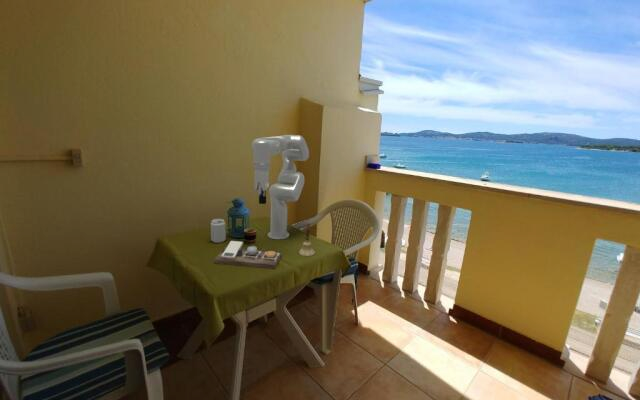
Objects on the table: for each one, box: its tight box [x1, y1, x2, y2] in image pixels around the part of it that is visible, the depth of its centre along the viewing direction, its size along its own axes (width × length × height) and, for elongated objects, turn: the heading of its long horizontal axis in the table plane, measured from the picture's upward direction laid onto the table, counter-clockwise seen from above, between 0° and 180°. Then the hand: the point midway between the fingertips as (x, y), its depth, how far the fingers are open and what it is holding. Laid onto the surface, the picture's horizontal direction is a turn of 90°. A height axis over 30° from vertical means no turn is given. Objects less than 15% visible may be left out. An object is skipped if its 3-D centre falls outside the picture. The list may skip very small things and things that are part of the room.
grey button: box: [246, 245, 258, 255], centre depth 124 cm, size 4×4×2 cm
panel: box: [213, 246, 282, 270], centre depth 124 cm, size 13×28×5 cm, turn 85°
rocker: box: [222, 240, 244, 259], centre depth 124 cm, size 11×6×1 cm, turn 175°
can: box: [210, 218, 227, 244], centre depth 143 cm, size 8×8×12 cm
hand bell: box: [298, 222, 316, 257], centre depth 134 cm, size 8×8×16 cm
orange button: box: [266, 250, 276, 258], centre depth 123 cm, size 4×4×2 cm
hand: (262, 203), depth 131 cm, fingers closed
